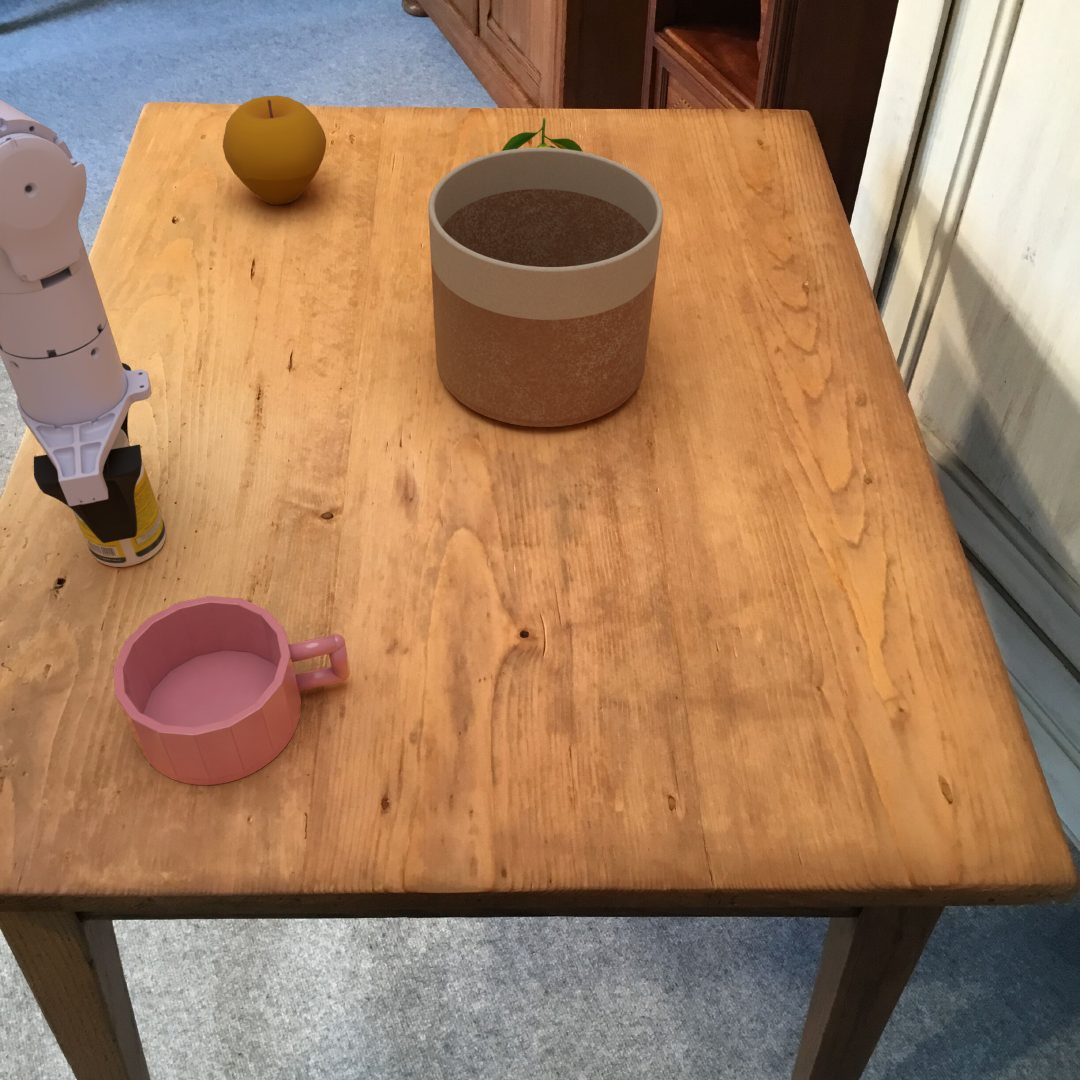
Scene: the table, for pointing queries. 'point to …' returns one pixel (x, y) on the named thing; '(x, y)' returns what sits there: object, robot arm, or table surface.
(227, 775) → the pink mug
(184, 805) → the table surface
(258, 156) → the apple
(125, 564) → the supplement bottle
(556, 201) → the planter
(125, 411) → the robot arm
